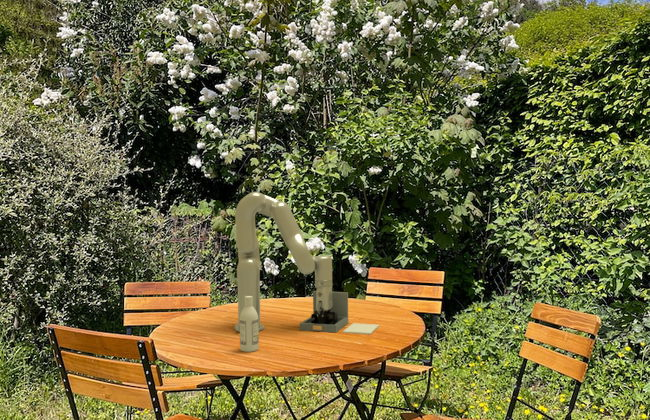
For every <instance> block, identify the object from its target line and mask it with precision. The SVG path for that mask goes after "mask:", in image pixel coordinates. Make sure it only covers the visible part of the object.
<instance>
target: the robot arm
mask: <svg viewBox="0 0 650 420" xmlns="http://www.w3.org/2000/svg"><path fill="white" fill-rule="evenodd" d="M257 213H259V214H261V215H264V216H266V217H270V218H272V219H273V221H274V223H275V225H276V227H277V229H278V231H279V233H280V235H281V237H282V239H283V241H284V244H285V245H286V247H287V248H288V251H289V252H290V254H291V256H292V258H293V260H294V263H295V265H296V267H297V269H298V271H299V273H301V274H303V275H310V274H312V273H313V272H314V286H315V289H316V290H315V291H316V309H317V324H325V317H324V312H325V311H326V312H331V308H332V307H333V296H332V292H333V259H332V257H331V256H330V255H312V254H311V252H310V249H309V248H308V246H307V243H306V241H305V237H304V235H303V233H302V230H301V229H300V227H299V224H298V222H297V220H296V218H295V216H294V214H293V212H292V210H291V208H290V206H289V204H288V203H286V202H284V201H281V200H279V199H276V198H273V197H271V196H269V195H266V194H264V193H261V192H260V191H259V192H258V191H252V192H250V193H248V194H247V195H245V196H243V198H241V199H240V200H239V202H238V204H237V206H236V208H235V215H234V216H235V217H234V220H235V236H236V237H235V239H236V240H235V244H236V248H237V252H238V253H237V255H238V263H237V266H236V276H237V277H236V280H237V313H238V314H237V315H238V317H237V318H238V319H237V320H238V321H237V324H235V325H234V331H236V332H239V333H240V314H241V312H242V310H243V308H244V307H245V296H252V297H253V307H254V309H255V310H256V312H257V314H258V331H259V332H260V331H263V330H264V329H265V326H264V324H262V323H261V290H260V289H261V283H260V275H261V274H260V272H261V271H260V269H261V259H260V258H261V257H260V256H261V255H260V246H259V245H260V244H259V243H260V242H259V238H258V236H257V231H256V229H257V228H256V214H257Z"/></svg>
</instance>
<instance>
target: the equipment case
mask: <svg viewBox="0 0 650 420" xmlns="http://www.w3.org/2000/svg"><path fill="white" fill-rule="evenodd" d="M316 291H317V290H313V291H312V299H313V300H312V304H313V305H312V307H313V308H312V309H313V310H312V311H313V313H315V311H317V309H316ZM332 296H333V307H332V308H331V312H336V313H337V317H338V320H337V323H336V324H334V325H330V324H314V323H311V321H312V320H314V317H313V318H311V316H309V317H308V318H307V319H304V320H303V321H301V322H300V323H299V331H304V332H305V331H307V332H320V333H321V332H322V333H337V332H339V331H340V330H341V329H343V328H344V327H346V326H347V325H348V324H349V292H348V291H347V292H346V291H345V292H344V291H343V292H342V291H332ZM313 313H312V314H313Z"/></svg>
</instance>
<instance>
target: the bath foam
mask: <svg viewBox="0 0 650 420" xmlns="http://www.w3.org/2000/svg"><path fill="white" fill-rule="evenodd" d="M259 332H260V331H258V314H257V312H256V310H255V309H254V307H253V297H252V296H245V307H244V308H243V310H242V312H241V314H240V332H239V349H240V351H242V352H244V353H247V352H248V353H249V352H250V353H253V352H256V351H258V350H259V348H260V347H259V346H260V344H259V342H260V341H259V337H260V336H259Z"/></svg>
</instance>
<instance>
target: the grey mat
mask: <svg viewBox="0 0 650 420" xmlns="http://www.w3.org/2000/svg"><path fill="white" fill-rule="evenodd" d="M379 327H380V324H374V323H373V324H372V323H370V324H369V323H360V322H359V323H358V322H357V323H356V322H355V323H354V322H352V324H350V325H349V326H348V327H346V328H345V329H344V330H343V331H342V333H345V334H357V335H370V336H371V335H372V334H373V333H374V332H375V331H376V330H377V329H379Z"/></svg>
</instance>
